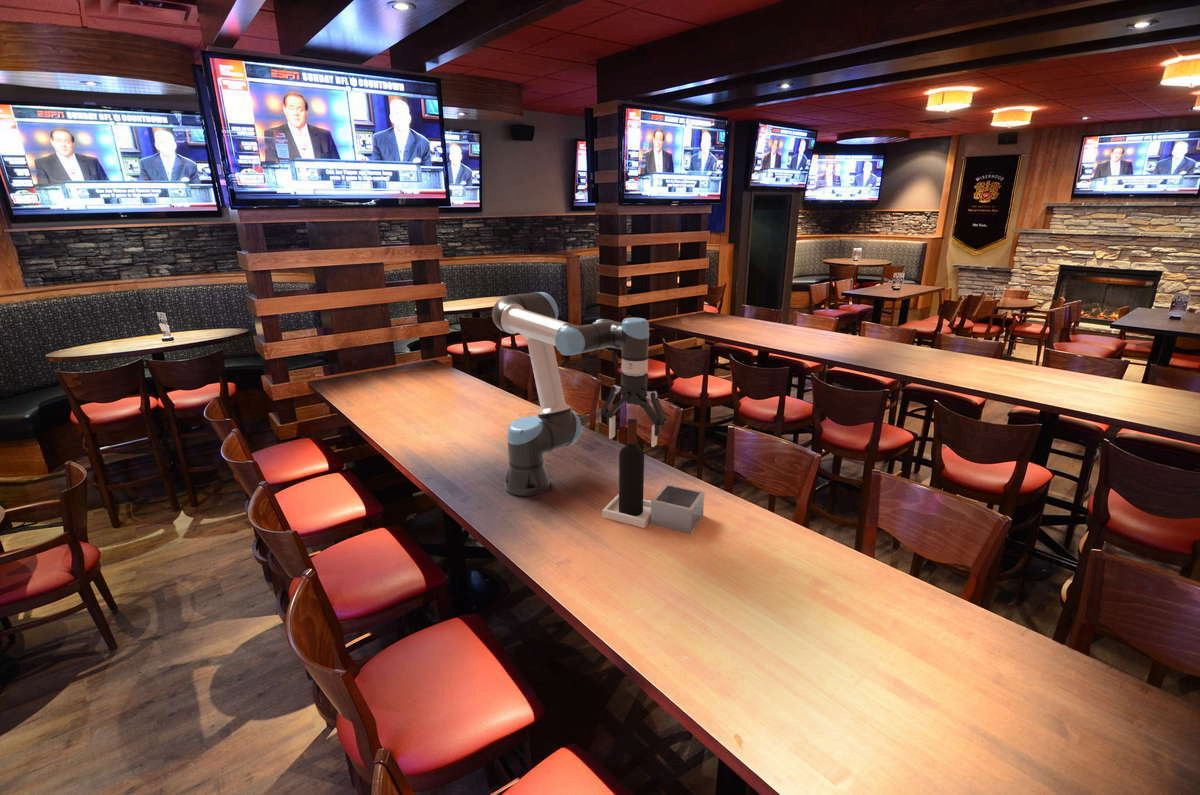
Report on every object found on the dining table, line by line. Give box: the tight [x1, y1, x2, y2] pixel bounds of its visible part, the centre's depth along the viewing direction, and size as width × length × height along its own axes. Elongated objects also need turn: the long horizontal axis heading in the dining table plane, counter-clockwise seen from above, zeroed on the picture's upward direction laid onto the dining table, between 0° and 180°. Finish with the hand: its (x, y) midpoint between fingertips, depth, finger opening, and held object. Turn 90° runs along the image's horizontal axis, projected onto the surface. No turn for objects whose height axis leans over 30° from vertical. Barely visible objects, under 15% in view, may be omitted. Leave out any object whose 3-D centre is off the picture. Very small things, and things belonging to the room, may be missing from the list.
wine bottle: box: [618, 418, 645, 516], centre depth 174 cm, size 8×8×30 cm
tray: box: [601, 493, 651, 529], centre depth 179 cm, size 14×12×2 cm
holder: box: [649, 483, 705, 535], centre depth 175 cm, size 12×12×8 cm
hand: (632, 441), depth 172 cm, fingers open, 13 cm apart
